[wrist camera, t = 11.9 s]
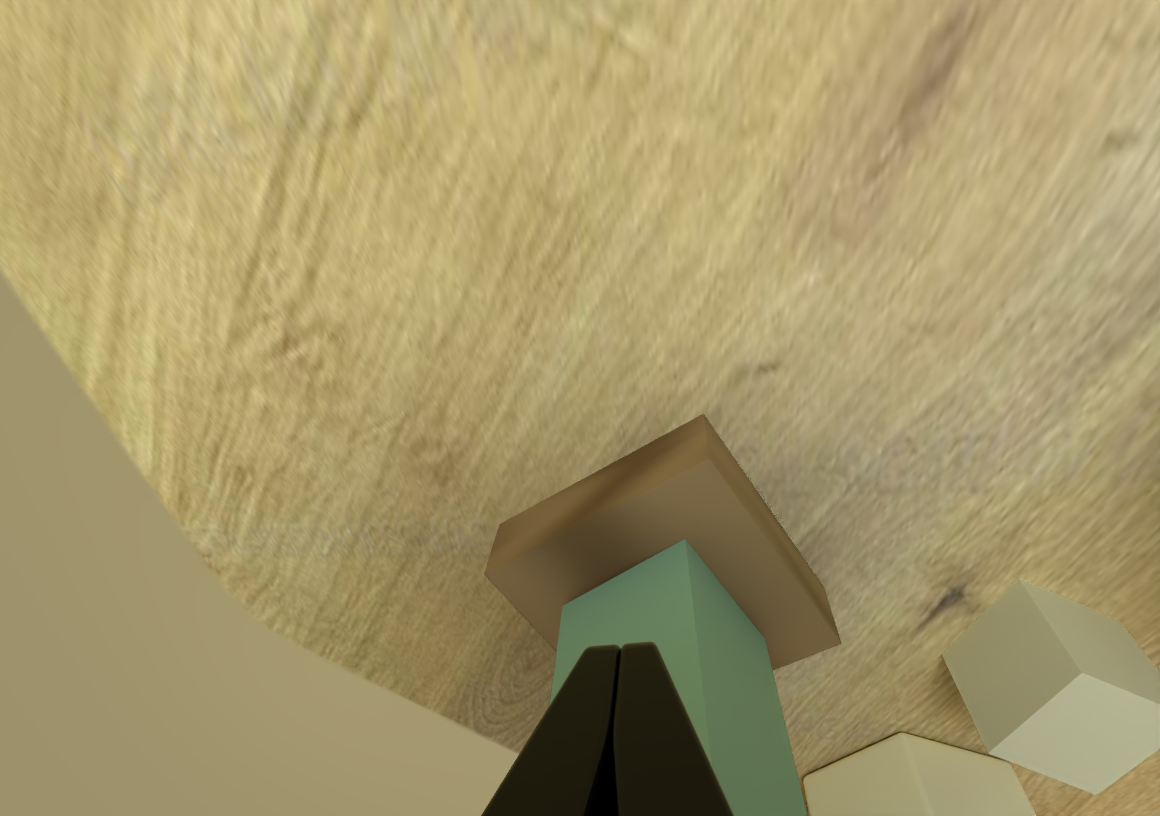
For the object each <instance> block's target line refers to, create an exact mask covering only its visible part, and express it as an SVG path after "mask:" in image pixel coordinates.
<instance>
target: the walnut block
mask: <svg viewBox="0 0 1160 816" xmlns="http://www.w3.org/2000/svg"><path fill="white" fill-rule="evenodd" d="M684 539H686V540H687V542H688V543H689V544H690V545H691V547H692V548H693V549H694V550H695V552H696V553H697V554H698V555H699V557H700V558H701V559H702V560H703V562H704V563H705V564H706V565H707V567H708V568H709V569H710V570H711V572H712V573H713V574H714V576H715V577H716V578H717V579H718V581H719V582H720V583H721V584H722V586H723V587H724V588H725V589H726V591H727V592H728V593H729V594H730V596H731V597H732V598H733V599H734V601H735V602H736V603H737V604H738V606H739V607H740V608H741V609H742V611H743V612H744V613H745V614H746V616H747V617H748V618H749V620H750V621H751V622H752V623H753V625H754V626H755V627H756V628H757V630H758V631H759V632H760V633H761V635H762V636H763V637H764V638H765V642H766V646H767V650H768V654H769V658H770V662H771V667H772V670H775V669H777V668H780V667H783V666H785V665H788V664H790V663H793V662H795V661H798V660H801V659H803V658H806V657H808V656H811V655H814V654H816V653H819V652H821V651H824V650H826V649H829V648H832V647H834V646H837V645H839V644H841V641H840V637H839V634H838V631H837V628H836V625H835V621H834V618H833V615H832V612H831V608H830V605H829V602H828V599H827V596H826V592H825V589H824V587H823V585H822V584H821V582H820V581H819V579H818V578H817V577H816V575H815V574H814V572H813V571H812V569H811V568H810V566H809V565H808V564H807V562H806V561H805V559H804V558H803V556H802V555H801V554H800V552H799V551H798V549H797V548H796V546H795V545H794V543H793V542H792V541H791V539H790V538H789V536H788V535H787V533H786V532H785V531H784V529H783V528H782V526H781V525H780V523H779V522H778V520H777V519H776V518H775V516H774V515H773V513H772V512H771V510H770V509H769V508H768V506H767V505H766V503H765V502H764V500H763V499H762V497H761V496H760V495H759V493H758V492H757V490H756V489H755V487H754V486H753V484H752V483H751V482H750V480H749V479H748V477H747V476H746V474H745V473H744V472H743V470H742V469H741V467H740V466H739V464H738V463H737V461H736V460H735V459H734V457H733V456H732V454H731V453H730V451H729V450H728V449H727V447H726V446H725V444H724V443H723V441H722V440H721V438H720V437H719V436H718V434H717V433H716V431H715V430H714V428H713V427H712V426H711V424H710V423H709V421H708V420H707V418H706V417H705V415H704V414H702V415H700V416H699V417H697V418H695V419H693V420H691V421H689V422H688V423H686V424H684V425H682V426H680V427H678V428H676V429H675V430H673V431H671V432H669V433H667V434H665V435H664V436H662V437H660V438H658V439H656V440H654V441H653V442H651V443H649V444H647V445H645V446H643V447H641V448H640V449H638V450H636V451H634V452H632V453H630V454H629V455H627V456H625V457H623V458H621V459H619V460H618V461H616V462H614V463H612V464H610V465H608V466H606V467H605V468H603V469H601V470H599V471H597V472H595V473H594V474H592V475H590V476H588V477H586V478H584V479H582V480H581V481H579V482H577V483H575V484H573V485H571V486H570V487H568V488H566V489H564V490H562V491H560V492H559V493H557V494H555V495H553V496H551V497H549V498H547V499H546V500H544V501H542V502H540V503H538V504H536V505H535V506H533V507H531V508H529V509H527V510H525V511H524V512H522V513H520V514H518V515H516V516H514V517H512V518H511V519H509V520H507V521H505V522H503V523H501V524H500V525H499V529H498V532H497V535H496V538H495V541H494V545H493V548H492V551H491V554H490V558H489V561H488V564H487V567H486V571H485V574H484V575H485V576H486V577H487V578H488V579H489V580H490V581H491V582H492V583H493V584H494V585H495V587H496V588H497V589H498V590H499V591H500V592H501V593H502V594H503V595H504V596H505V597H506V598H507V599H508V600H509V602H510V603H511V604H512V605H513V606H514V607H515V608H516V609H517V610H518V611H519V612H520V613H521V614H522V615H523V617H524V618H525V619H526V620H527V621H528V622H529V623H530V624H531V625H532V626H533V627H534V628H535V629H536V630H537V631H538V633H539V634H540V635H541V636H542V637H543V638H544V639H545V640H546V641H547V642H548V643H549V644H550V645H551V646H552V648H553V649H554V650H555V651H556V652H557V644H558V637H559V629H560V622H561V614H562V607H563V605H565V604H567V603H569V602H571V601H572V600H574V599H576V598H578V597H580V596H581V595H583V594H585V593H587V592H589V591H591V590H592V589H594V588H596V587H598V586H600V585H602V584H603V583H605V582H607V581H609V580H611V579H612V578H614V577H616V576H618V575H620V574H622V573H623V572H625V571H627V570H629V569H631V568H633V567H634V566H636V565H638V564H640V563H642V562H643V561H645V560H647V559H649V558H651V557H653V556H654V555H656V554H658V553H660V552H662V551H664V550H665V549H667V548H669V547H671V546H673V545H674V544H676V543H678V542H680V541H682V540H684Z"/></svg>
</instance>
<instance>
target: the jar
mask: <svg viewBox="0 0 1160 816" xmlns="http://www.w3.org/2000/svg"><path fill="white" fill-rule="evenodd" d="M803 784H804V790H805V796H806V802H807V808H808V815H809V816H1037V815H1036V813H1035V811H1034V809H1033V807H1032V805H1031V803H1030V801H1029V799H1028V797H1027V795H1026V793H1025V791H1024V789H1023V787H1022V785H1021V783H1020V781H1019V779H1018V776H1017V774H1016V772H1015V770H1014V768H1013V767H1012V765H1011V764H1010V763H1009V762H1007V761H1004V760H1001V759H997V758H994V757H990V756H986V755H983V754H979V753H976V752H972V751H968V750H965V749H961V748H958V747H954V746H950V745H947V744H943V743H939V742H936V741H932V740H929V739H925V738H921V737H918V736H914V735H911V734H907V733H898V734H896V735H893V736H891V737H889V738H887V739H885V740H883V741H880V742H878V743H876V744H874V745H872V746H869V747H867V748H865V749H863V750H861V751H859V752H856V753H854V754H852V755H850V756H848V757H845V758H843V759H841V760H839V761H837V762H834V763H832V764H830V765H828V766H826V767H824V768H821V769H819V770H817V771H815V772H813V773H810V774H808V775H806V776H805V778H804V780H803Z"/></svg>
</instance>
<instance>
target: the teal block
mask: <svg viewBox="0 0 1160 816" xmlns="http://www.w3.org/2000/svg"><path fill="white" fill-rule="evenodd" d="M639 642H653V643H655V644H656V645H657V647H658V649H659V652H660V654H661V656H662V658H663V660H664V663H665V665H666V667H667V669H668V671H669V674H670V676H671V678H672V680H673V682H674V684H675V687H676V689H677V691H678V693H679V695H680V698H681V700H682V702H683V704H684V706H685V709H686V711H687V713H688V715H689V717H690V720H691V722H692V724H693V726H694V728H695V731H696V733H697V735H698V737H699V739H700V742H701V744H702V746H703V748H704V750H705V753H706V755H707V757H708V759H709V761H710V764H711V766H712V768H713V770H714V772H715V775H716V777H717V779H718V781H719V783H720V786H721V788H722V790H723V792H724V794H725V797H726V799H727V801H728V803H729V805H730V808H731V810H732V812H733V814H734V816H807V812H806V808H805V804H804V800H803V795H802V791H801V787H800V783H799V779H798V775H797V771H796V766H795V762H794V758H793V754H792V750H791V746H790V741H789V737H788V733H787V729H786V725H785V721H784V717H783V712H782V708H781V704H780V700H779V696H778V692H777V687H776V683H775V679H774V675H773V671H772V667H771V662H770V658H769V654H768V650H767V646H766V642H765V638H764V637H763V636H762V635H761V633H760V632H759V631H758V630H757V628H756V627H755V626H754V625H753V623H752V622H751V621H750V620H749V618H748V617H747V616H746V614H745V613H744V612H743V611H742V609H741V608H740V607H739V606H738V604H737V603H736V602H735V601H734V599H733V598H732V597H731V596H730V594H729V593H728V592H727V591H726V589H725V588H724V587H723V586H722V584H721V583H720V582H719V581H718V579H717V578H716V577H715V576H714V574H713V573H712V572H711V570H710V569H709V568H708V567H707V565H706V564H705V563H704V562H703V560H702V559H701V558H700V557H699V555H698V554H697V553H696V552H695V550H694V549H693V548H692V547H691V545H690V544H689V543H688V542H687V540H686V539H684V540H682V541H680V542H678V543H676V544H674V545H673V546H671V547H669V548H667V549H665V550H664V551H662V552H660V553H658V554H656V555H654V556H653V557H651V558H649V559H647V560H645V561H643V562H642V563H640V564H638V565H636V566H634V567H633V568H631V569H629V570H627V571H625V572H623V573H622V574H620V575H618V576H616V577H614V578H612V579H611V580H609V581H607V582H605V583H603V584H602V585H600V586H598V587H596V588H594V589H592V590H591V591H589V592H587V593H585V594H583V595H581V596H580V597H578V598H576V599H574V600H572V601H571V602H569V603H567V604H565V605H563V607H562V614H561V622H560V629H559V637H558V644H557V652H556V659H555V667H554V674H553V682H552V689H551V697H550V704H551V702H552V701H553V699H554V698H555V696H556V694H557V693H558V691H559V690H560V688H561V686H562V685H563V683H564V682H565V680H566V678H567V677H568V675H569V673H570V672H571V670H572V669H573V667H574V665H575V664H576V662H577V661H578V659H579V657H580V656H581V654H582V653H583V651H584V650H585V649H586V648H587V647H589V646H598V645H612V644H615V645H618V646H619V647H620V648H622V646H623V645H624V644H626V643H639ZM550 704H549V706H550Z"/></svg>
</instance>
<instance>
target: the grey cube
mask: <svg viewBox="0 0 1160 816" xmlns="http://www.w3.org/2000/svg"><path fill="white" fill-rule="evenodd" d="M942 656H943V658H944V660H945V662H946V665H947V667H948V669H949V671H950V673H951V675H952V677H953V680H954V682H955V684H956V686H957V688H958V690H959V692H960V695H961V697H962V699H963V701H964V703H965V705H966V707H967V710H968V712H969V714H970V716H971V718H972V720H973V722H974V725H975V727H976V729H977V731H978V733H979V735H980V737H981V740H982V742H983V744H984V746H985V748H986V750H987V752H988V754H991V755H993V756H996V757H999V758H1001V759H1004V760H1006V761H1009V762H1012V763H1014V764H1017V765H1019V766H1022V767H1024V768H1027V769H1030V770H1032V771H1035V772H1037V773H1040V774H1043V775H1045V776H1048V777H1050V778H1053V779H1055V780H1058V781H1061V782H1063V783H1066V784H1068V785H1071V786H1074V787H1076V788H1079V789H1081V790H1084V791H1086V792H1089V793H1092V794H1094V795H1098V794H1099V793H1100V792H1102V791H1103V790H1104V789H1106V788H1107V787H1109V786H1110V785H1111V784H1113V783H1114V782H1115V781H1117V780H1118V779H1119V778H1121V777H1122V776H1123V775H1125V774H1126V773H1128V772H1129V771H1130V770H1132V769H1133V768H1134V767H1136V766H1137V765H1138V764H1140V763H1141V762H1143V761H1144V760H1145V759H1147V758H1148V757H1149V756H1151V755H1152V754H1153V753H1155V752H1156V751H1157V750H1159V749H1160V671H1159V670H1158V669H1157V668H1156V666H1155V665H1154V664H1153V663H1152V661H1151V660H1150V659H1149V658H1148V656H1147V655H1146V654H1145V652H1144V651H1143V650H1142V649H1141V647H1140V646H1139V645H1138V644H1137V642H1136V641H1135V640H1134V639H1133V637H1132V636H1131V635H1130V634H1129V632H1128V631H1127V630H1126V629H1125V627H1124V626H1123V625H1122V624H1121V622H1120V621H1119V620H1118V619H1115V618H1113V617H1110V616H1108V615H1106V614H1103V613H1101V612H1099V611H1096V610H1094V609H1092V608H1089V607H1087V606H1084V605H1082V604H1080V603H1077V602H1075V601H1073V600H1070V599H1068V598H1066V597H1063V596H1061V595H1058V594H1056V593H1054V592H1051V591H1049V590H1047V589H1044V588H1042V587H1040V586H1037V585H1035V584H1032V583H1030V582H1028V581H1025V580H1023V579H1021V578H1017V579H1016V580H1015V581H1014V582H1013V583H1012V584H1011V585H1010V586H1009V587H1008V588H1007V589H1006V590H1005V591H1004V592H1003V593H1002V594H1001V595H1000V596H999V597H998V598H997V599H996V600H995V601H994V602H993V603H992V604H991V605H990V606H989V607H988V608H987V609H986V610H985V611H984V612H983V613H982V614H981V615H980V616H979V617H978V618H977V619H976V620H975V621H974V622H973V623H972V624H971V625H970V626H969V627H968V628H967V629H966V630H965V631H964V632H963V633H962V634H961V635H960V636H959V637H958V638H957V639H956V640H955V641H954V642H953V643H952V644H951V645H950V646H949V647H948V648H947V649H946V650H945V651H944V652H943V653H942Z"/></svg>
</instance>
